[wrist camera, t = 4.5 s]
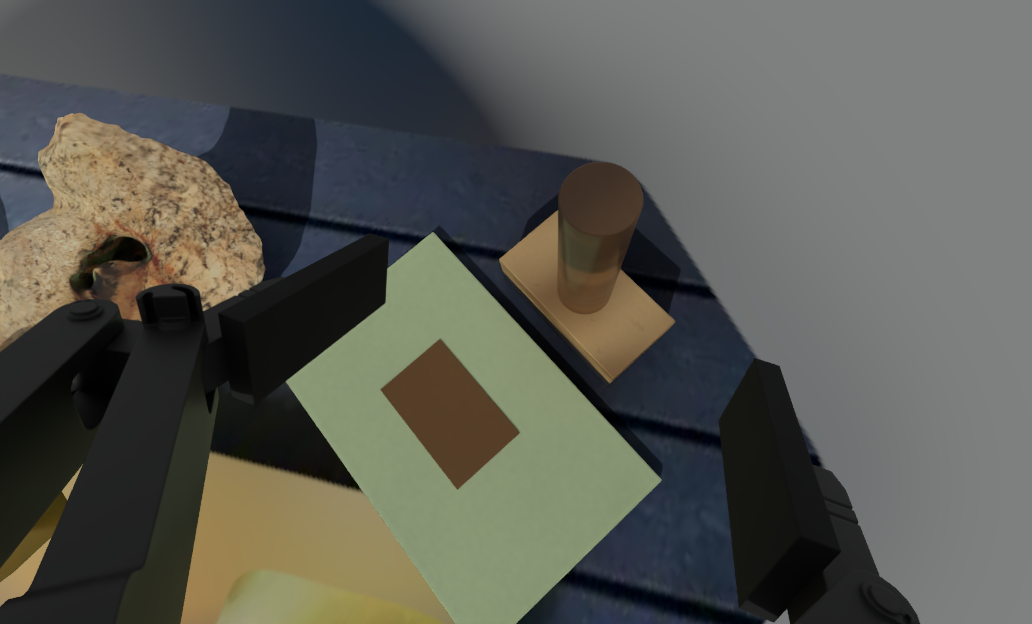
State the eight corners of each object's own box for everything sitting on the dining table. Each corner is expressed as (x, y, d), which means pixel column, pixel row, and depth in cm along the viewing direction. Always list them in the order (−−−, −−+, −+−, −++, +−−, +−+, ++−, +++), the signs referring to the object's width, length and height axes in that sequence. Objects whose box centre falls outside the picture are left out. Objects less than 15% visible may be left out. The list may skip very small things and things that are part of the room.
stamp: (662, 335, 30) (750, 243, 16) (607, 387, 29) (650, 335, 16) (557, 233, 32) (559, 83, 19) (504, 278, 32) (467, 156, 18)
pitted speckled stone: (256, 406, 37) (194, 447, 30) (73, 351, 36) (-41, 380, 28) (315, 190, 35) (264, 175, 27) (121, 124, 34) (11, 89, 26)
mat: (660, 479, 27) (662, 480, 27) (481, 654, 26) (479, 659, 25) (434, 235, 33) (432, 230, 33) (276, 363, 31) (271, 361, 31)
